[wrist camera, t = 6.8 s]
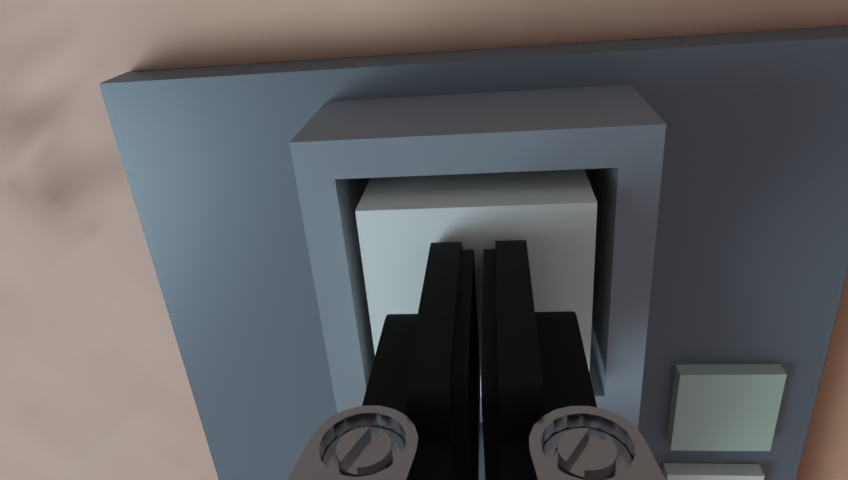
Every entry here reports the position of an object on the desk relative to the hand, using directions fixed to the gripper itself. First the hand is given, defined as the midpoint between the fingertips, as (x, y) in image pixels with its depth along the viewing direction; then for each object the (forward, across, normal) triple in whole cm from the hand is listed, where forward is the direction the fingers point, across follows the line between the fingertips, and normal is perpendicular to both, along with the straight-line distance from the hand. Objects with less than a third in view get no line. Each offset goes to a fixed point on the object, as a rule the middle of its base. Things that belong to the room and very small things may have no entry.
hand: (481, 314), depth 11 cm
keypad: (+5, 0, +8) cm, 9 cm away
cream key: (+3, 0, 0) cm, 3 cm away
